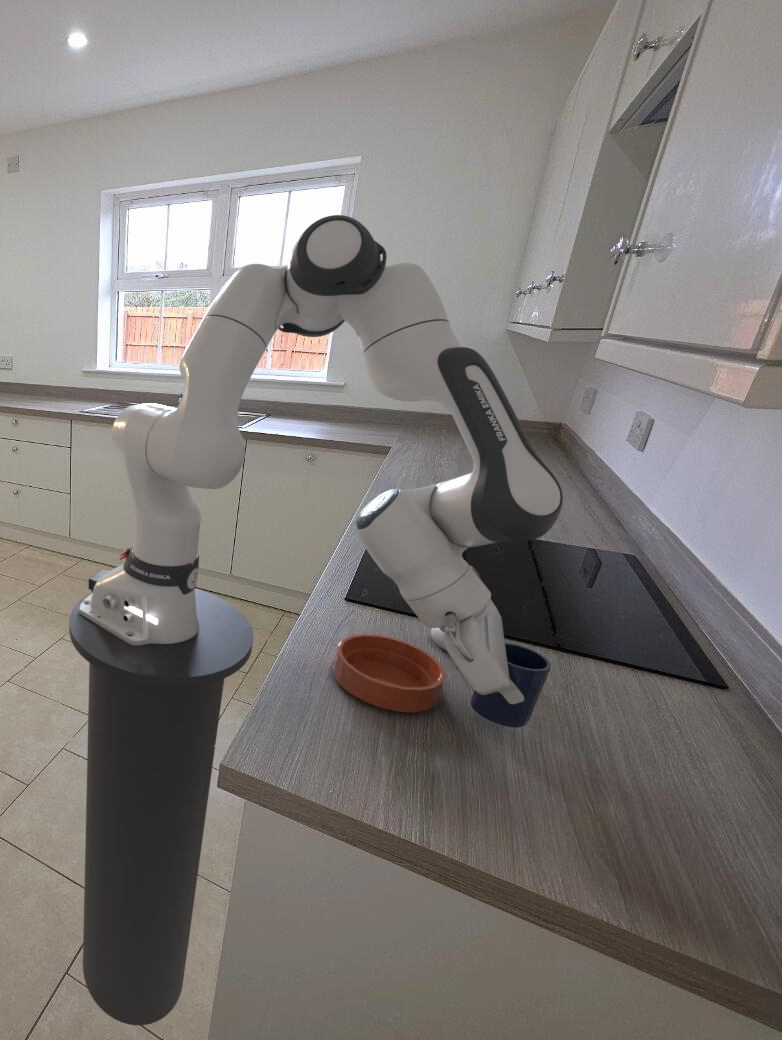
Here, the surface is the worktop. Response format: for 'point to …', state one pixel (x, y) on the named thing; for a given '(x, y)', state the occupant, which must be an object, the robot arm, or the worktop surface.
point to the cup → (529, 677)
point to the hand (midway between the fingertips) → (515, 683)
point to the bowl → (388, 673)
